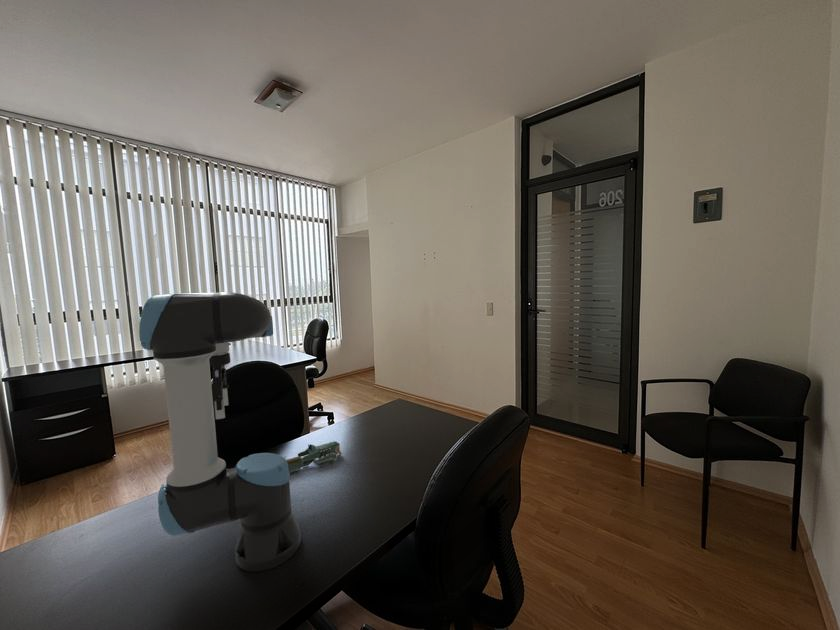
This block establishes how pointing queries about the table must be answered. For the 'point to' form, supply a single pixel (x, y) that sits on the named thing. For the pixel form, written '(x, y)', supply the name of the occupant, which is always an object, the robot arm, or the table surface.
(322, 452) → the hoverbike
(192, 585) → the table surface
